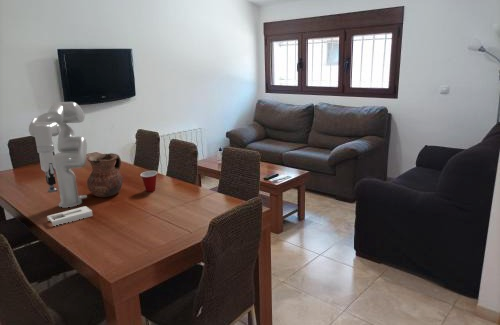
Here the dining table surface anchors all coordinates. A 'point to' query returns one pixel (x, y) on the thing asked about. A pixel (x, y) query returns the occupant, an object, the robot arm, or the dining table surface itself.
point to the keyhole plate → (70, 215)
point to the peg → (51, 186)
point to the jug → (104, 175)
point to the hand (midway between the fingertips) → (51, 183)
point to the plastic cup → (149, 180)
